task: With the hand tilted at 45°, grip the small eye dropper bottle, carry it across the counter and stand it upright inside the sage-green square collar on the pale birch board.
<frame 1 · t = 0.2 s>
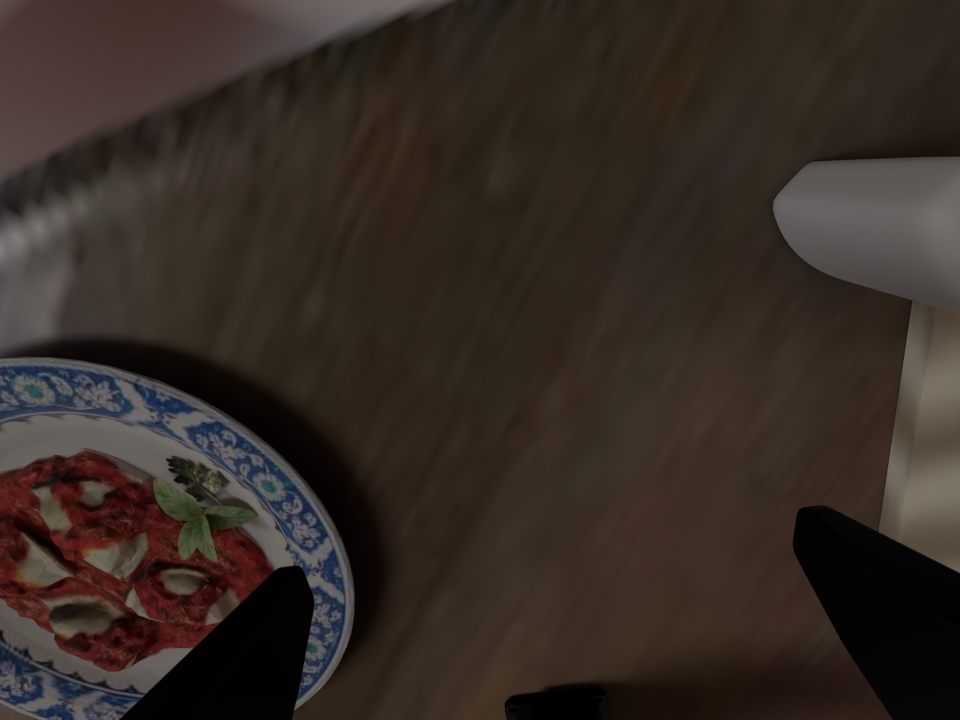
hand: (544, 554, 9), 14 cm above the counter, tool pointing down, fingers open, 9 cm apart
ceramic plate: (138, 553, 28), on the counter
eye dropper bottle: (824, 222, 21), on the counter
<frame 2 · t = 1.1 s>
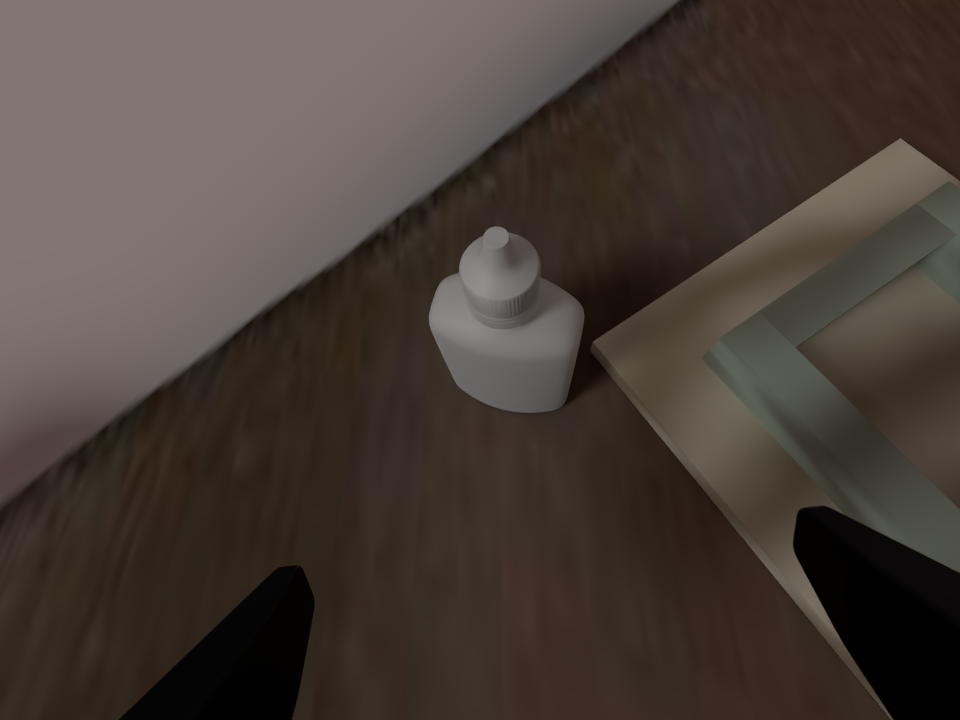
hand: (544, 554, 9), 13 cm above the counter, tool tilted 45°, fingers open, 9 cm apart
bottle socket: (905, 400, 22), on the counter
eye dropper bottle: (512, 380, 24), on the counter
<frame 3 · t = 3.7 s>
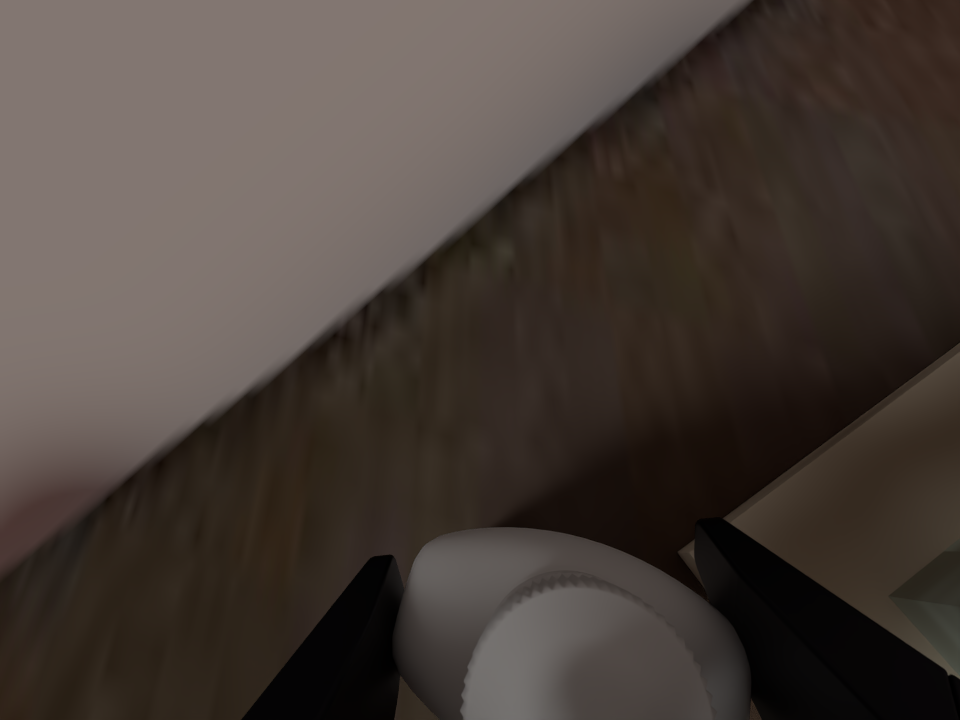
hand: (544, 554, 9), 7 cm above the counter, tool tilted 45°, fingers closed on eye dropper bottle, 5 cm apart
eye dropper bottle: (548, 599, 15), on the counter, touching gripper
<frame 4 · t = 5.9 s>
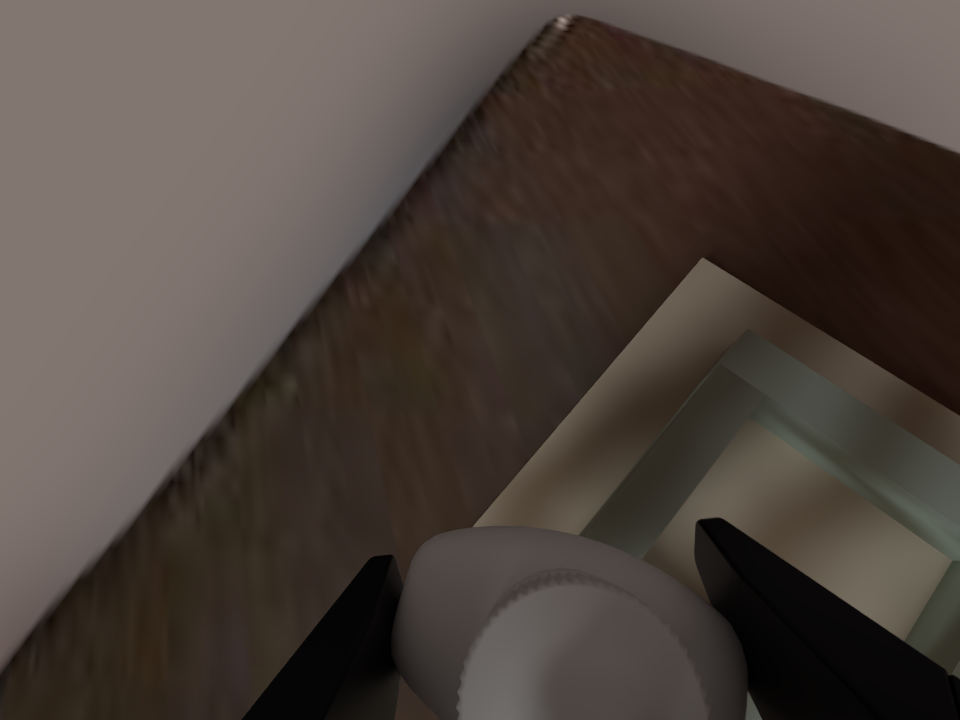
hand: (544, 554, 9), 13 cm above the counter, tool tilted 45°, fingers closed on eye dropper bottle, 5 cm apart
bottle socket: (764, 566, 20), on the counter
eye dropper bottle: (547, 598, 15), point 6 cm above the counter, touching gripper
when the fingers open (9 cm above the counter, at t = 8.0 s): eye dropper bottle drops 1 cm, resting on bottle socket.
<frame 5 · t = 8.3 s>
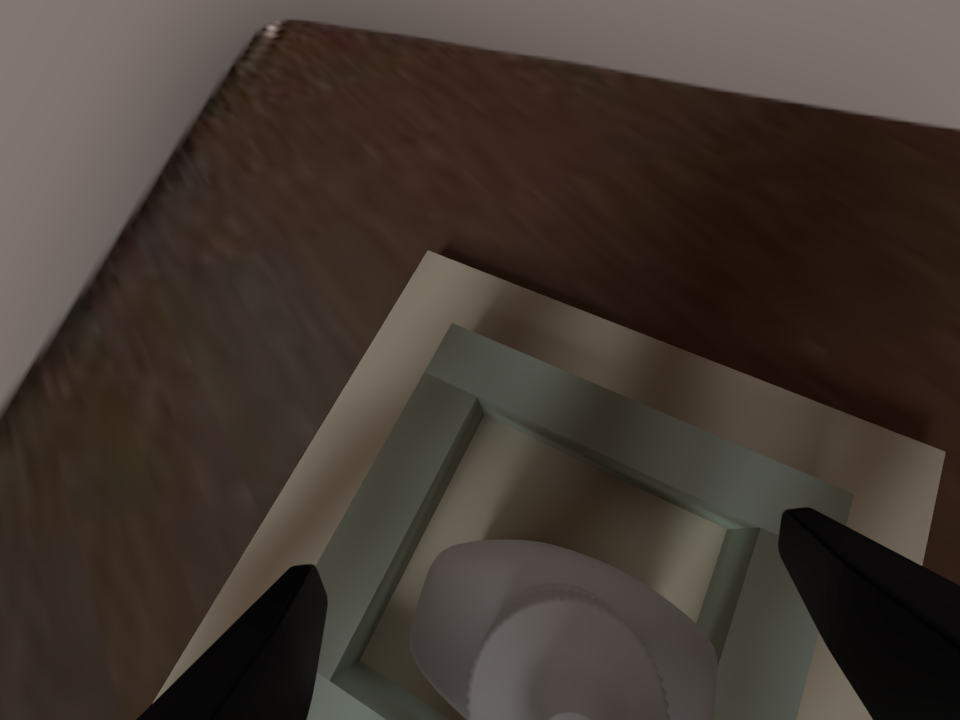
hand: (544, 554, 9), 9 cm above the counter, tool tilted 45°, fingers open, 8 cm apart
bottle socket: (544, 590, 17), on the counter
eye dropper bottle: (550, 601, 16), point 1 cm above the counter, touching bottle socket
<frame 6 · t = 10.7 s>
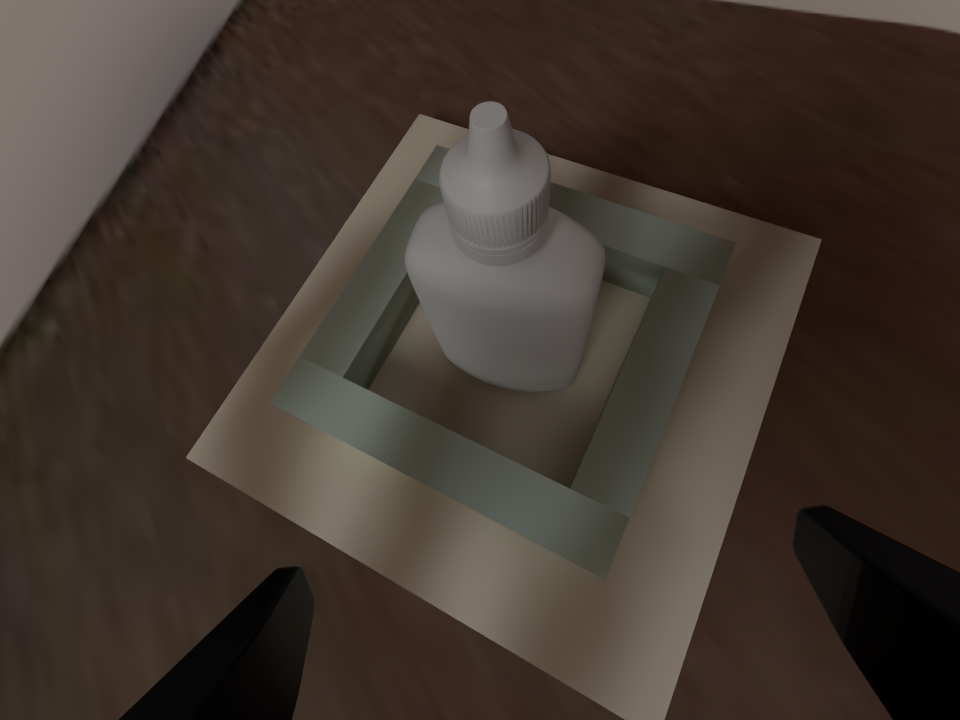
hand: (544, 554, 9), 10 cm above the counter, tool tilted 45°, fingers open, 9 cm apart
bottle socket: (509, 357, 21), on the counter
eye dropper bottle: (512, 353, 20), point 1 cm above the counter, touching bottle socket
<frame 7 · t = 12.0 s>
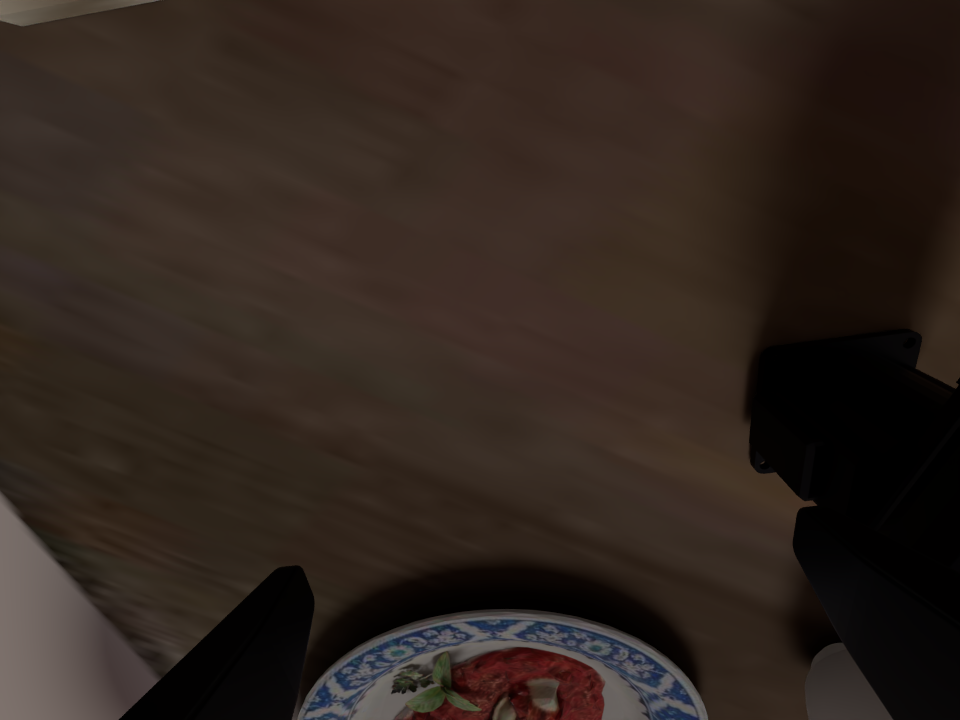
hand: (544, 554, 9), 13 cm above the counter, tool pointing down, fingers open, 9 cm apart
ceramic plate: (500, 716, 33), on the counter
sauce bottle: (832, 649, 29), on the counter
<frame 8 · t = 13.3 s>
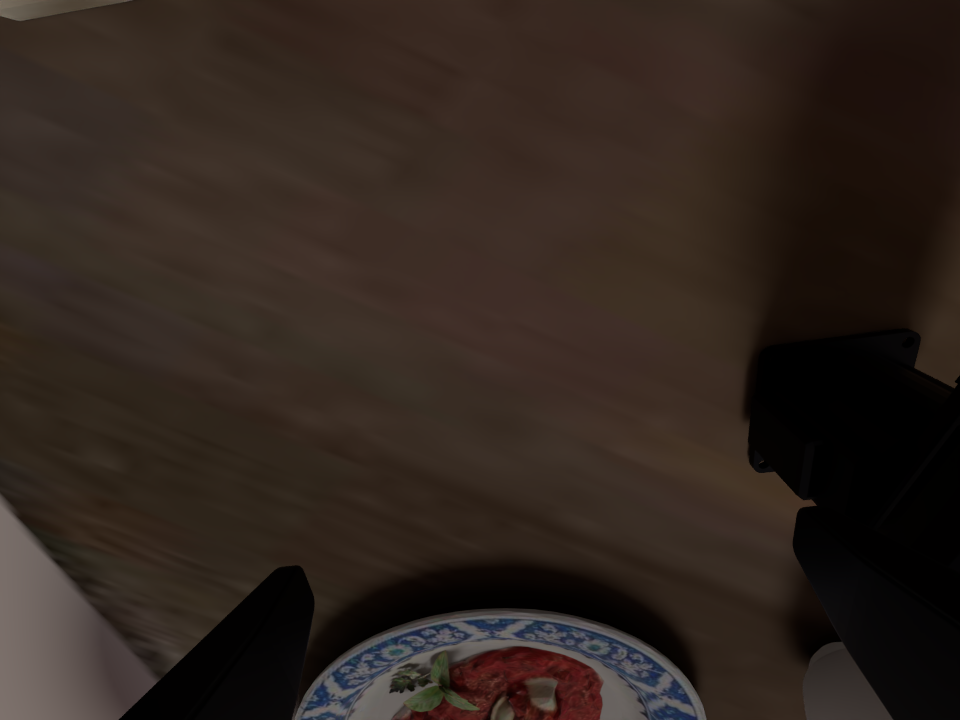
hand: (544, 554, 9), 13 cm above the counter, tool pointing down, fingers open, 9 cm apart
ceramic plate: (498, 715, 32), on the counter
sauce bottle: (830, 649, 29), on the counter
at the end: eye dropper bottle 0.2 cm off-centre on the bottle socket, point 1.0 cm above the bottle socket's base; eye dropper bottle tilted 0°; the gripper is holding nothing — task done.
